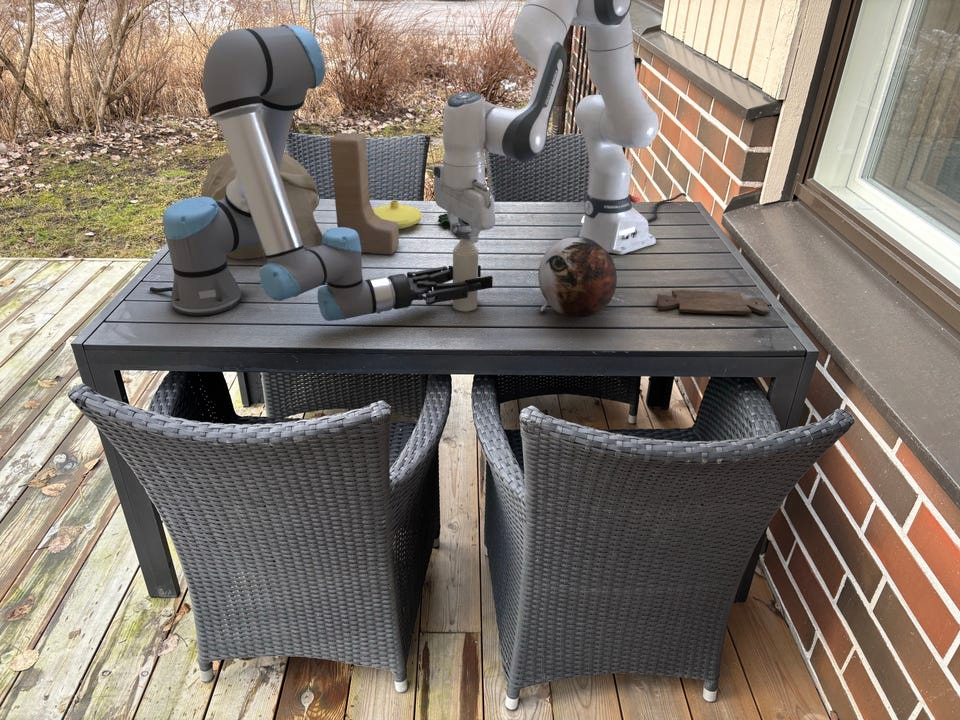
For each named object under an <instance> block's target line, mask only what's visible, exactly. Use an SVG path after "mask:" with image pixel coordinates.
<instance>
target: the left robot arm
mask: <svg viewBox="0 0 960 720" xmlns="http://www.w3.org/2000/svg"><path fill="white" fill-rule="evenodd" d="M325 63H326V62H325V58H324V54H323V52H322V48H321V46H320V44H319V42H318V40H317V39H316V37H315V36H314V34H312V33H311V31H310V30H309V29H307V28H306V27H304V26H303V25H299V24H298V25H297V24H289V25H288V24H285V23H283V24H280V25H278V26H269V27H268V26H266V27H253V28H237V29H236V28H235V29H231V30H228V31H226V32H224V33H222V34H221V35H220V36H218V37H217V38H216V39H215V40H214V41H213V42H212V45H210V48H209V50H208V52H207V54H206V57H205V60H204V64H203V72H202V89H203V98H204V101H205V105H206V108H207V111H208V114H209V117H210V119H211V120H213V121H215V122H216V123H217V124H219V127H220V131H221V134H223V136H224V137H223V139H224V142H225V145H226V147H227V150H228V153H230V156H231V159H232V162H233V165H234V168H235V170H236V173H237V174H236V179H234V180H232V181H231V182H230V183H229V184H228V186H227V188H226V193H225V198H224V199H221V200H218V201H215V200H214V199H212V198H210V197H201V196H196V197H188V198H184V199H180V200H178V201H176V202H174V203H172V204H171V205H169V206H168V207H167V208H166V209H165V211H164V212H163V214H162V225H163V234H164V236H165V240H166V244H167V249H168V253H169V257H170V262H171V265H172V271H173V282H172V286H170V287H169V286H168V287H153V286H151V287H149V291H150V292H152V293H153V292H154V293H167V292H171V296H170V297H171V298H170V300H171V305H172V309H173V310H174V311H175V312H177V313H178V314H181V315H185V316H190V317H203V316H204V317H205V316H212V315H213V316H214V315H217V314H220V313H224V312H228V311H229V310H231V309H233V308H235V307H236V306H238V305H239V304H240V303H241V301H242V299H243V298H242V291H241V288H240V286H239V283H238V281H236V278H235V276H234V275H233V273H232V272H231V270H230V268H229V265H228V259H227V255H226V253H228V252H231V251H234V250H238V249H241V248H244V247H248V246H251V245H254V244H257V243H261V244H262V249H263V252H264V255H265V259H266V262H267V263H266V264H264V265H263V266H261V268H260V270H259V272H258V273H259V274H258V275H259V283H260V285H261V288H262V290H263V292H264V293H265V294H266V295H267V296H268V297H269V298H270V299H272V300H274V301H275V302H276V301H277V302H282V301H284V300H288V299H291V298H294V297H295V298H296V297H299V296H300V295H301V294H302V295H303V294H304V293H307V292H309V291H311V290H314V289H316V288H318V289H317V303H318V307H319V312H320V314H321V316H322V317H323V319H324V320H325V321H327V322H332V321H333V322H335V321H342V320H344V321H346V320H347V319H352V318H357V317H361V316H366V315H372V314H373V315H374V314H379V315H380V314H381V313H383V312H389V311H392V310H396V311H397V310H401V309H406V308H410V307H411V305H412V303H413V301H425V305H427V306H432V305H435V304H438V303H444V302H449V301H453V300H457V299H463V298H468V292H472V291H477V290H478V291H482V290H488V289H493V284H494V283H493V282H494V281H493V280H494V276H493V275H486V276H482V266H481V265H480V264H478V278H475V279H469V280H465V282H462V283H453V282H450V281H453V265H448V266H439V267H434V268H428V269H424V270H418V271H408V272H406V274H404V273H398V274H392V275H388V276H387V277H386V276H385V275H384V276H378V277H374V278H373V277H372V278H368V279H364V278H363V277H364V276H363V264H362V263H363V262H362V252H361V245H360V240H359V235H358V233H357V232H356V231H355V230H353V229H350V228H345V227H338V226H337V227H332V228H328V229H326V231H324V232H323V233H322V245H321V246H314V247H311V248H309V249H307V250H306V247H304V246H303V243H302V240H301V237H300V234H299V231H298V228H297V225H296V222H295V219H294V215H293V212H292V209H291V206H290V203H289V200H288V197H287V194H286V191H285V188H284V185H283V182H282V179H281V176H280V173H279V171H280V166H281V162H282V158H283V154H285V151H286V150H285V149H286V145H287V142H288V137H289V133H290V130H291V125H292V121H293V118H294V117H293V116H294V113H295V112H297V111H299V110H301V109H302V108H303V106H304V104H305V102H306V98H307V94H308V90H309V89H312V90H314V89H316V88H317V87H319V86H321V84H322V83H323V81H324V79H325V75H326V66H325Z"/></svg>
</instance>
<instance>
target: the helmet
mask: <svg viewBox="0 0 960 720" xmlns="http://www.w3.org/2000/svg"><path fill="white" fill-rule="evenodd" d="M217 136H219V137H222V138H224V136H223V133H217ZM279 173H280V176H281V179H282V182H283V185H284V188H285V191H286V194H287V197H288V200H289V203H290V206H291V209H292V212H293V215H294V219H295V222H296V225H297V228H298V231H299V234H300V237H301V240H302V243H303V246H304V248H314V247H318V246H321V245H322V235H323V233H322V231H321V230H320V228H319V225H318V223H317V221H316V219H315V216H314V212H315V211H316V209H317V208H318V206H319V203H320V199H321V198H320V195H319V194H318V189H317V185H316V182H315V180H314V178H313V176H312V175H310V174H309V172H308V171H307V169H306V168H305V167H304V166H303V165H302V164H301V163H300V162H299V161H297V160H296V159H295V158H294V157H292V156H290V155H288V154H286V153H284V154H283V158H282V162H281V166H280V171H279ZM236 174H237V173H236V170H235V168H234V165H233V162H232V159H231V156H230V153H229V152H226V153H224V154H223V155H221V156H219V157H218V158H217V159H216V160H215V161H213V163H212V164H210V166H209V168H208V170H207V173H206V176H205V178H204V179H203V181H202V186H201V192H200V197H210V198H212V199H214V200H215V201H218V200H221V199H224V198H225V193H226V188H227V186H228V184H229V183H230V182H231V181H232V180H234V179H236ZM226 256H228V257H229V258H231V259H236V260H237V259H239V260H244V259H256V258H257V259H258V258H266V256H265V253H264V250H263V247H262V244H261V243H257V244H254V245H251V246H248V247H244V248H241V249H238V250H234V251H231V252H228V253H226Z"/></svg>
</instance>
